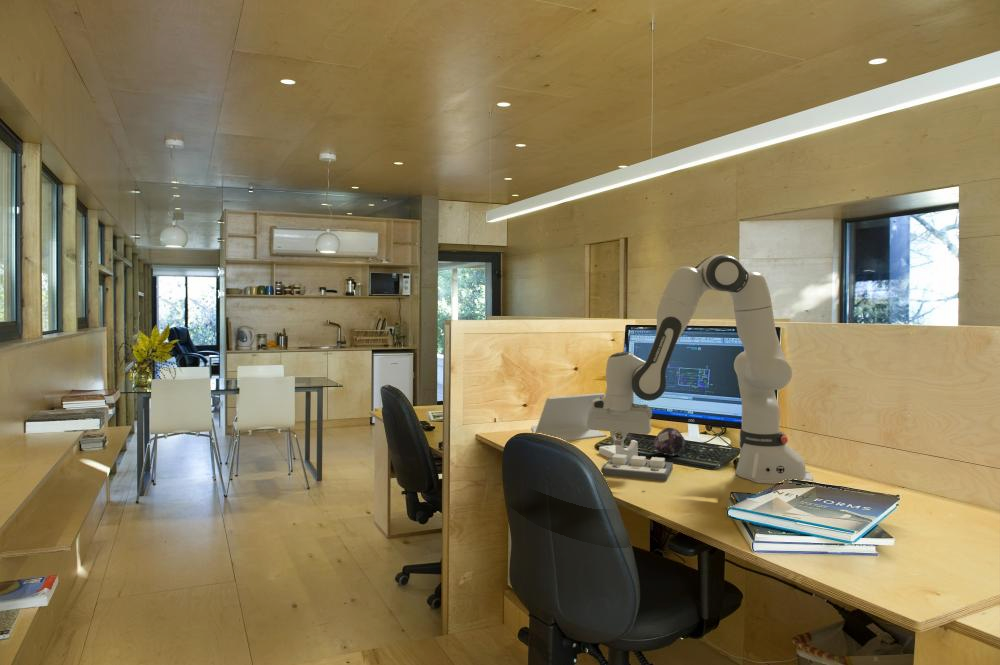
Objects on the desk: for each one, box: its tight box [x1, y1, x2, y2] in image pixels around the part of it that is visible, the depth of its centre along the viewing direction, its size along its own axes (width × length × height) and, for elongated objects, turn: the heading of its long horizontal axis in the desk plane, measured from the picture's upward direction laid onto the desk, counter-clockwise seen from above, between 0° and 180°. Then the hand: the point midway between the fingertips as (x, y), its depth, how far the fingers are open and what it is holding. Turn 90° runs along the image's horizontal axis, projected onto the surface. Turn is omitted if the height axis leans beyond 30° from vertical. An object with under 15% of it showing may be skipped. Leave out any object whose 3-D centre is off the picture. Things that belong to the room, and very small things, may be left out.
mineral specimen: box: [653, 427, 686, 454], centre depth 247 cm, size 10×10×10 cm
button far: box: [612, 454, 627, 465], centre depth 227 cm, size 4×4×2 cm
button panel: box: [600, 457, 674, 482], centre depth 223 cm, size 20×14×3 cm
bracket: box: [598, 439, 639, 459], centre depth 242 cm, size 13×7×8 cm, turn 24°
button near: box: [649, 456, 666, 469], centre depth 222 cm, size 4×4×2 cm
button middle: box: [631, 455, 647, 467], centre depth 225 cm, size 4×4×2 cm
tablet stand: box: [530, 392, 608, 442], centre depth 279 cm, size 18×25×17 cm
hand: (618, 445), depth 226 cm, fingers closed
